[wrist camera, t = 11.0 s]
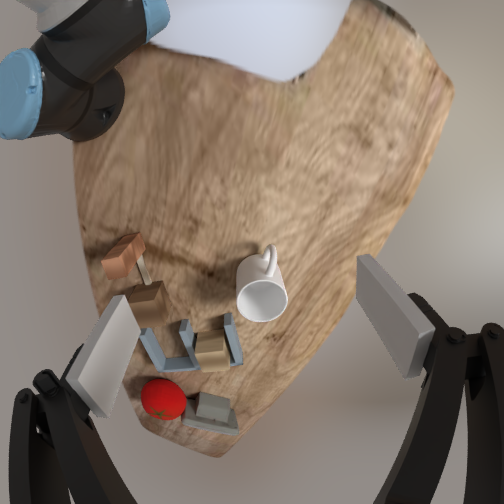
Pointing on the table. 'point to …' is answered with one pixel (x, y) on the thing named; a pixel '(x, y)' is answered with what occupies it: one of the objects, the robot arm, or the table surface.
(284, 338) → the table surface
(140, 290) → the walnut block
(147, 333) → the lane shelf
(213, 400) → the digital clock
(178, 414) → the tomato
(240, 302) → the cup
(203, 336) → the oak block
